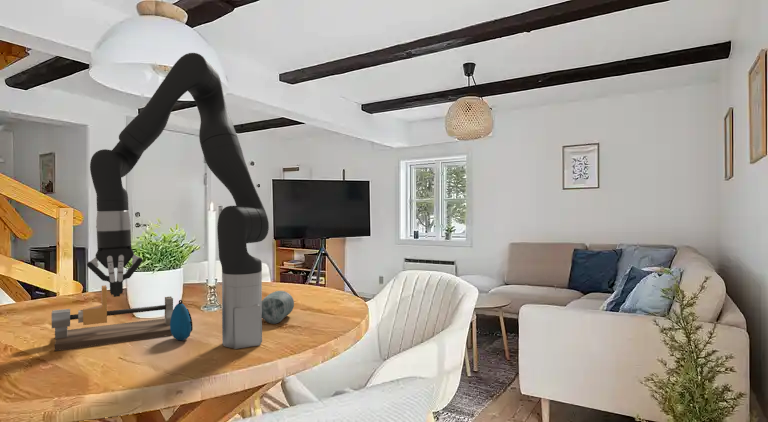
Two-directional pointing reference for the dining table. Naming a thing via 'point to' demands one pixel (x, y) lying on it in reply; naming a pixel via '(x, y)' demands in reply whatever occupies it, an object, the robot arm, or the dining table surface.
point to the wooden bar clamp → (109, 328)
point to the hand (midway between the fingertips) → (116, 296)
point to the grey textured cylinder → (277, 306)
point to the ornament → (181, 322)
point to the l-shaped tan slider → (96, 311)
